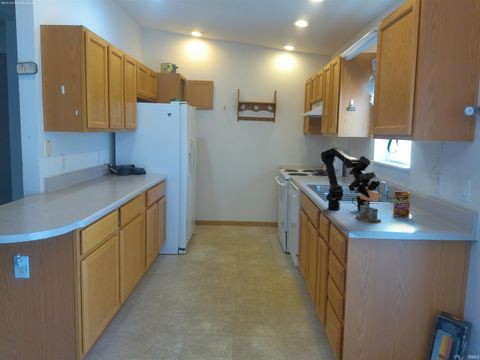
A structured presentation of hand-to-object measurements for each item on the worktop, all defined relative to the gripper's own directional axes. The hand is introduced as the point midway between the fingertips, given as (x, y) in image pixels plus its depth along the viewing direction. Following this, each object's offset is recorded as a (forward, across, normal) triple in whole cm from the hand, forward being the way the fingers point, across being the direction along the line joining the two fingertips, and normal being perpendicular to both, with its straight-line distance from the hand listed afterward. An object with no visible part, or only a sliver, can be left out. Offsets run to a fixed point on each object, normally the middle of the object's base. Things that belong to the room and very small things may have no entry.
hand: (370, 197), depth 218 cm
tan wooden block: (0, 0, +2) cm, 2 cm away
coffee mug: (-8, +14, +27) cm, 32 cm away
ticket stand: (+9, 0, +10) cm, 14 cm away
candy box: (+8, +27, +12) cm, 30 cm away
